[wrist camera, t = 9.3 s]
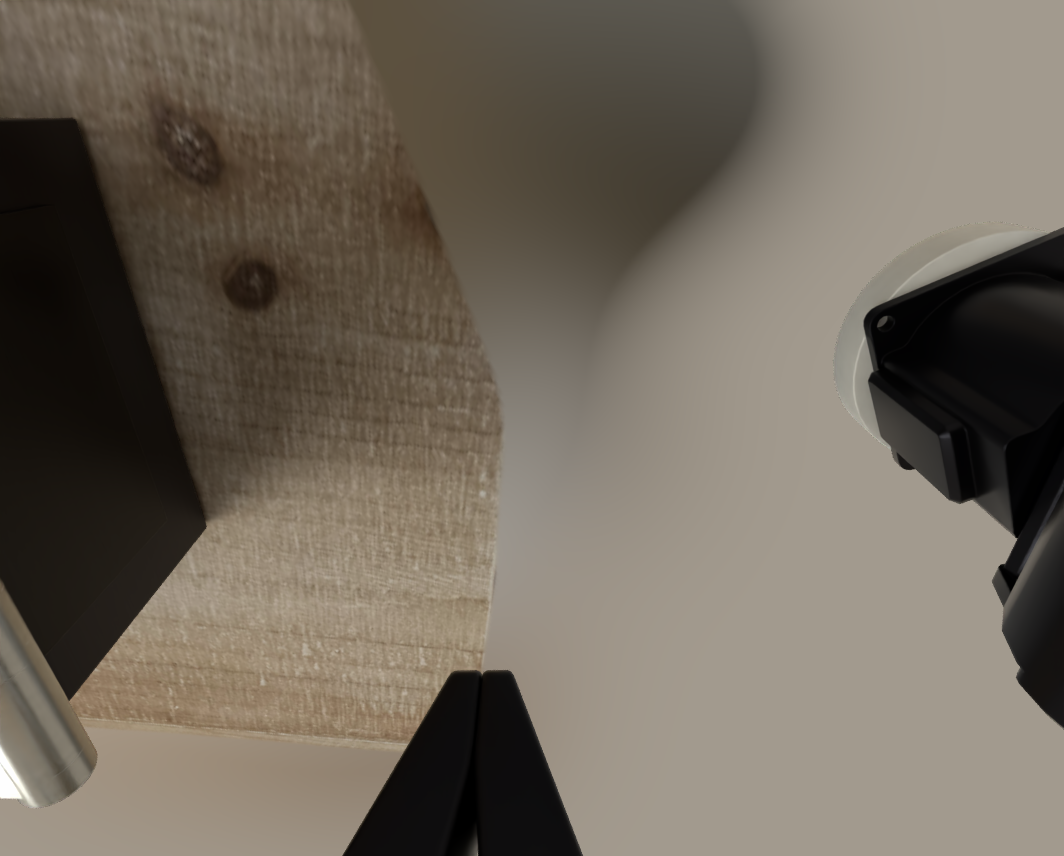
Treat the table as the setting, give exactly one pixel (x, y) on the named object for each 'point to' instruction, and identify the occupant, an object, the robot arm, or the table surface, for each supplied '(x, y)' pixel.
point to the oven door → (72, 457)
